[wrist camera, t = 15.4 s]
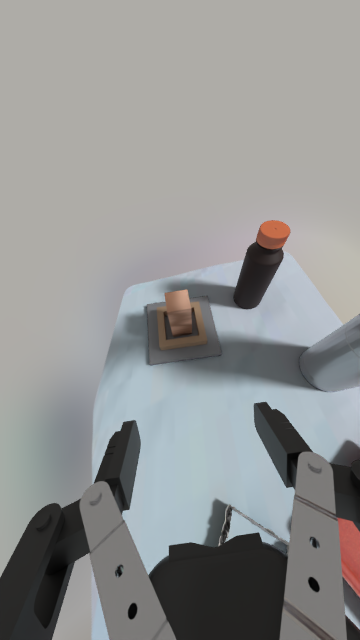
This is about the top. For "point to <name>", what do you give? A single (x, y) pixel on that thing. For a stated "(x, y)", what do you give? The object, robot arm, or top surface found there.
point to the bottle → (261, 263)
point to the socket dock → (184, 346)
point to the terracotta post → (179, 312)
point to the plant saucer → (350, 553)
